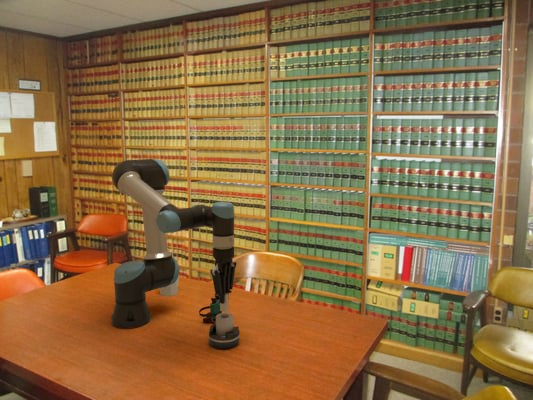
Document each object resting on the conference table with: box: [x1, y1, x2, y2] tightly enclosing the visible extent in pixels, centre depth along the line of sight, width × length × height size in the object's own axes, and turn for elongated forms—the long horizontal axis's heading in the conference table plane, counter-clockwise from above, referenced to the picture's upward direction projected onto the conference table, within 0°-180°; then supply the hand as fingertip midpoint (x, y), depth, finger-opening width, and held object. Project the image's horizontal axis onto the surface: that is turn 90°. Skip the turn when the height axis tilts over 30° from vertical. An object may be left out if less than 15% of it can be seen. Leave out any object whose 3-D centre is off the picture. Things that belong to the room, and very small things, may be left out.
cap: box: [216, 312, 235, 336], centre depth 152 cm, size 6×6×6 cm
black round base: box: [208, 323, 241, 351], centre depth 153 cm, size 11×11×6 cm
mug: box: [159, 275, 181, 297], centre depth 203 cm, size 12×9×10 cm
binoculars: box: [198, 293, 223, 324], centre depth 172 cm, size 9×11×10 cm
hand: (224, 310), depth 151 cm, fingers closed
